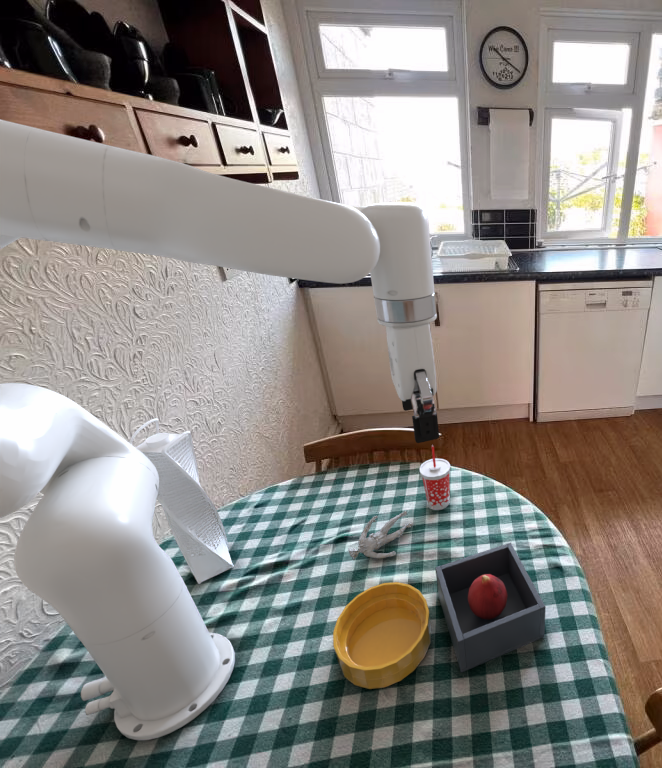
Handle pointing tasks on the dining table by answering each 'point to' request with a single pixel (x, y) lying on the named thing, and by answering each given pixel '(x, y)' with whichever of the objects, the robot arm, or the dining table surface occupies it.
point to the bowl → (382, 635)
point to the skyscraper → (187, 503)
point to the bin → (503, 632)
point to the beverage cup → (436, 482)
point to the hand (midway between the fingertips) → (420, 423)
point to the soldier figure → (378, 539)
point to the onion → (487, 596)
